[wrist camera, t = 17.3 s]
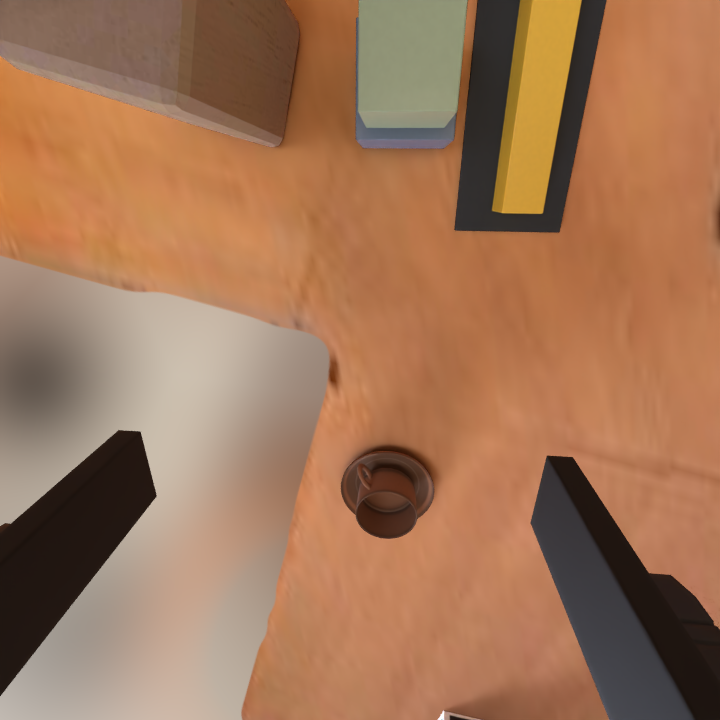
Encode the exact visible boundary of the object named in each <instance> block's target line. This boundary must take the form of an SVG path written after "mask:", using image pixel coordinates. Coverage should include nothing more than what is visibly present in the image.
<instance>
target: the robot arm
mask: <svg viewBox="0 0 720 720" xmlns="http://www.w3.org/2000/svg"><path fill="white" fill-rule="evenodd" d="M155 498H156V492H155V487H154V483H153V480H152V475H151V471H150V468H149V464H148V460H147V456H146V452H145V448H144V444H143V440H142V436H141V432H138V431H122V430H118V431H117V432H116V433H115V434H114V435H113V436H112V437H110V438H109V439H108V440H107V441H106V442H105V443H103V444H102V445H101V446H100V447H99V448H98V449H97V450H95V451H94V452H93V453H92V454H91V455H90V456H88V457H87V458H86V459H85V460H84V461H83V462H82V463H80V464H79V465H78V466H77V467H76V468H75V469H73V470H72V471H71V472H70V473H69V474H68V475H67V476H65V477H64V478H63V479H62V480H61V481H60V482H58V483H57V484H56V485H55V486H54V487H53V488H52V489H51V490H49V491H48V492H47V493H46V494H45V495H44V496H42V497H41V498H40V499H39V500H38V501H37V502H35V503H34V504H33V505H32V506H31V507H30V508H29V509H27V510H26V511H25V512H24V513H23V514H22V515H20V516H19V517H18V518H17V519H16V520H15V521H14V522H13V523H11V524H7V523H5V524H3V525H1V526H0V696H1V694H2V693H3V692H4V691H5V689H6V688H7V687H8V685H9V684H10V683H11V682H12V680H13V679H14V678H15V677H16V675H17V674H18V673H19V672H20V670H21V669H22V668H23V666H24V665H25V664H26V663H27V661H28V660H29V659H30V657H31V656H32V655H33V654H34V652H35V651H36V650H37V648H38V647H39V646H40V645H41V643H42V642H43V641H44V640H45V638H46V637H47V636H48V634H49V633H50V632H51V631H52V629H53V628H54V627H55V625H56V624H57V623H58V621H59V620H60V619H61V618H62V617H63V615H64V614H65V612H66V611H67V610H68V609H69V608H70V606H71V605H72V604H73V602H74V601H75V600H76V599H77V597H78V596H79V595H80V594H81V592H82V591H83V590H84V588H85V587H86V586H87V584H88V583H89V582H90V581H91V579H92V578H93V577H94V576H95V574H96V573H97V572H98V571H99V569H100V568H101V567H102V565H103V564H104V563H105V561H106V560H107V559H108V558H109V556H110V555H111V554H112V553H113V551H114V550H115V549H116V547H117V546H118V545H119V544H120V542H121V541H122V540H123V539H124V537H125V536H126V535H127V533H128V532H129V531H130V530H131V528H132V527H133V526H134V524H135V523H136V522H137V521H138V519H139V518H140V517H141V515H142V514H143V513H144V512H145V510H146V509H147V508H148V507H149V505H150V504H151V503H152V501H153V500H154V499H155ZM531 525H532V528H533V530H534V533H535V535H536V538H537V540H538V543H539V545H540V548H541V550H542V553H543V555H544V558H545V560H546V563H547V565H548V568H549V570H550V573H551V575H552V578H553V580H554V583H555V585H556V588H557V590H558V593H559V595H560V598H561V600H562V603H563V605H564V607H565V610H566V612H567V615H568V617H569V620H570V622H571V625H572V627H573V630H574V632H575V635H576V637H577V640H578V642H579V645H580V647H581V650H582V652H583V655H584V657H585V660H586V662H587V665H588V667H589V670H590V672H591V675H592V677H593V680H594V682H595V685H596V687H597V690H598V692H599V695H600V697H601V700H602V702H603V705H604V707H605V710H606V712H607V715H608V717H609V720H720V630H719V628H718V627H717V626H714V623H713V622H714V621H713V620H712V619H711V617H710V616H709V615H708V613H707V612H706V610H705V609H704V608H703V606H702V605H701V604H700V602H699V601H698V600H697V598H696V597H695V596H694V595H693V594H692V593H691V592H690V591H688V590H687V589H686V588H685V587H684V586H683V585H682V584H680V583H679V582H678V581H677V580H676V579H675V578H674V577H672V576H671V575H664V574H651V573H648V571H647V570H646V568H645V567H644V565H643V564H642V562H641V561H640V559H639V558H638V556H637V555H636V553H635V552H634V550H633V548H632V547H631V545H630V544H629V542H628V541H627V539H626V538H625V536H624V535H623V533H622V532H621V530H620V529H619V527H618V526H617V524H616V523H615V521H614V519H613V518H612V516H611V515H610V513H609V512H608V510H607V509H606V507H605V506H604V504H603V503H602V501H601V500H600V498H599V497H598V495H597V494H596V492H595V490H594V489H593V487H592V486H591V484H590V483H589V481H588V480H587V478H586V477H585V475H584V474H583V472H582V471H581V469H580V468H579V466H578V465H577V463H576V461H575V460H574V458H573V457H561V456H547V458H546V462H545V466H544V470H543V474H542V478H541V482H540V486H539V491H538V495H537V499H536V503H535V507H534V511H533V515H532V520H531Z"/></svg>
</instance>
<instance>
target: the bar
mask: <svg viewBox="0 0 720 720" xmlns="http://www.w3.org/2000/svg"><path fill="white" fill-rule="evenodd" d="M581 2H582V0H520V5H519V13H518V20H517V28H516V35H515V42H514V50H513V57H512V65H511V72H510V80H509V87H508V95H507V102H506V110H505V117H504V124H503V132H502V139H501V147H500V154H499V162H498V169H497V177H496V184H495V192H494V199H493V206H492V211H495V212H500V213H524V214H542V213H543V210H544V204H545V199H546V193H547V188H548V182H549V177H550V171H551V166H552V160H553V155H554V149H555V144H556V139H557V133H558V128H559V122H560V117H561V111H562V106H563V100H564V95H565V89H566V84H567V78H568V73H569V67H570V62H571V57H572V51H573V46H574V40H575V35H576V29H577V24H578V18H579V13H580V7H581Z"/></svg>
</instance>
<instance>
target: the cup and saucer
mask: <svg viewBox="0 0 720 720" xmlns="http://www.w3.org/2000/svg"><path fill="white" fill-rule="evenodd" d="M341 494H342V497H343V500H344V502H345V504H346V505H347V507H348V508H349V509H350V510H351V511H352V512H353V513H354V514H355V515H356V519H357V522H358V524H359V525H360V527H361V528H362V529H363V530H364V531H366V532H367V533H369V534H371V535H373V536H375V537H379V538H385V539H391V538H398V537H401V536H403V535H405V534H407V533H408V532H410V531H411V530H412V529H413V527H414V526H415V524H416V521H417V519H418V518H419V517H421V516H422V515H423V514H424V513H425V512H426V511H427V510H428V508H429V507H430V505H431V503H432V501H433V497H434V485H433V481H432V479H431V476H430V474H429V473H428V471H427V470H426V468H425V467H424V466H423V465H422V464H421V463H420V462H418V461H417V460H415V459H414V458H412V457H410V456H408V455H405V454H402V453H399V452H394V451H377V452H372V453H369V454H366V455H363V456H361V457H360V458H358V459H356V460H355V461H354V462H353V463H352V464H351V465H350V466H349V467H348V468H347V470H346V471H345V473H344V475H343V478H342V482H341Z"/></svg>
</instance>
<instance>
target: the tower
mask: <svg viewBox="0 0 720 720" xmlns="http://www.w3.org/2000/svg"><path fill="white" fill-rule="evenodd" d="M467 4H468V0H359V17H357V18H356V140H357V142H358V143H359V144H360V145H361V146H362V148H442V149H444V148H445V147H446V146H447V145H448V144H450V143H451V142H452V141H453V140H454V136H455V125H456V114H457V110H458V100H459V90H460V79H461V68H462V57H463V47H464V36H465V25H466V14H467Z"/></svg>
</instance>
